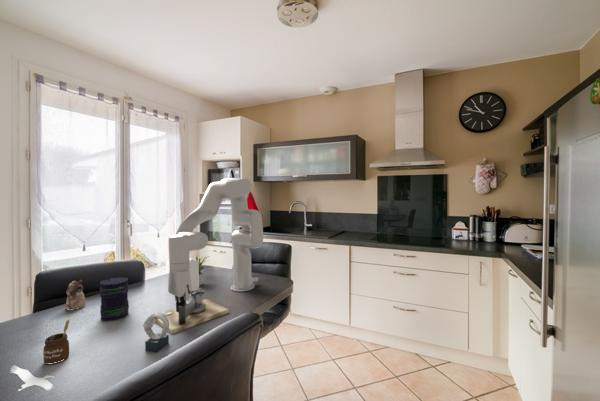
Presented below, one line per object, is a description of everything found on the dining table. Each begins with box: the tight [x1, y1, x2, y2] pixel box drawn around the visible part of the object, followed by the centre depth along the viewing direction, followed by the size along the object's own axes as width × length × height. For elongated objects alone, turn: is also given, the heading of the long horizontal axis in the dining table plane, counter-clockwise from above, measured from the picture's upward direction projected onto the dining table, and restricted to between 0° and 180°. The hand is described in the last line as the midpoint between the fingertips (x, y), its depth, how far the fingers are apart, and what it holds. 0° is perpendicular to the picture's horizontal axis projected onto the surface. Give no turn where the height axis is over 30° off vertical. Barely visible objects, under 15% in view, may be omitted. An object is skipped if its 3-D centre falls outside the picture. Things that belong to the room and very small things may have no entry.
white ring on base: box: [142, 312, 170, 353], centre depth 91 cm, size 6×8×11 cm
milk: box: [186, 254, 200, 302], centre depth 131 cm, size 6×6×22 cm
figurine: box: [64, 279, 86, 310], centre depth 124 cm, size 7×7×12 cm
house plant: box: [195, 255, 210, 286], centre depth 157 cm, size 14×14×16 cm
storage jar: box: [99, 276, 130, 322], centre depth 115 cm, size 10×10×15 cm
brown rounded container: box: [42, 318, 70, 364], centre depth 85 cm, size 6×6×12 cm
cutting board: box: [155, 298, 229, 335], centre depth 115 cm, size 24×18×2 cm
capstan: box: [178, 287, 206, 324], centre depth 113 cm, size 18×8×8 cm, turn 177°
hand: (181, 311), depth 111 cm, fingers closed
